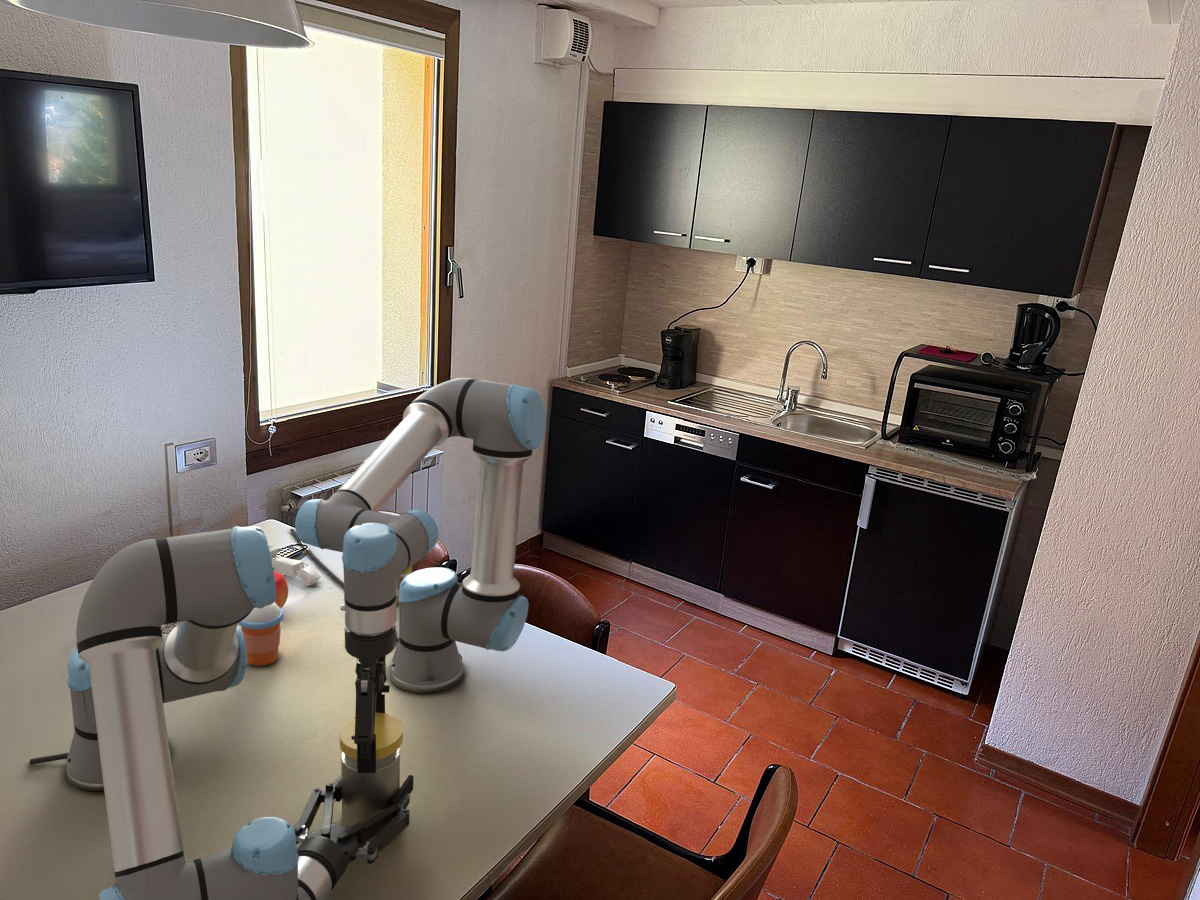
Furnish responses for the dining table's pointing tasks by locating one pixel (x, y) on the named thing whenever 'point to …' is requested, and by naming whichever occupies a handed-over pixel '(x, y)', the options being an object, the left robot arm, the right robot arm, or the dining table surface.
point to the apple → (281, 589)
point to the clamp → (293, 567)
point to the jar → (368, 788)
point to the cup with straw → (262, 634)
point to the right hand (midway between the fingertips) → (371, 749)
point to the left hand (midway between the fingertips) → (383, 775)
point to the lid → (386, 736)
